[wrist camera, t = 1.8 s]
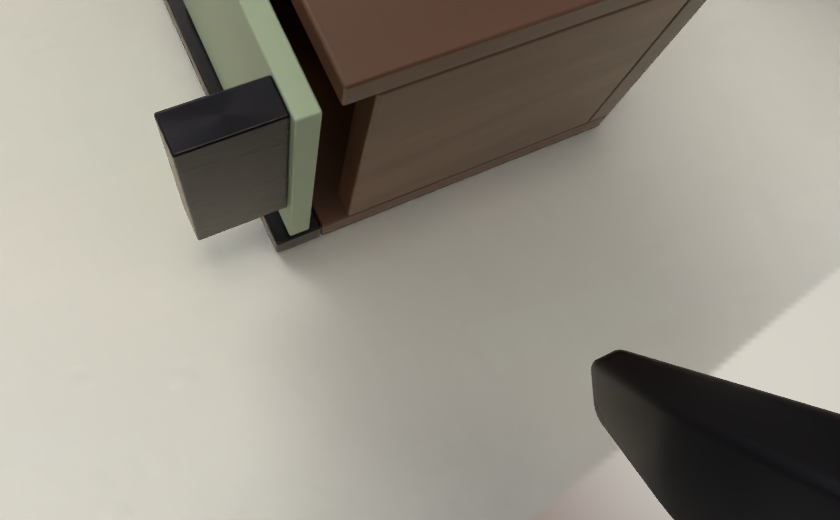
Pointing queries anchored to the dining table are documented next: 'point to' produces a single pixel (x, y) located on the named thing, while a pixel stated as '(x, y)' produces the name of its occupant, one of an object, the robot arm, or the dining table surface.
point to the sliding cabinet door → (244, 124)
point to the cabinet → (448, 86)
